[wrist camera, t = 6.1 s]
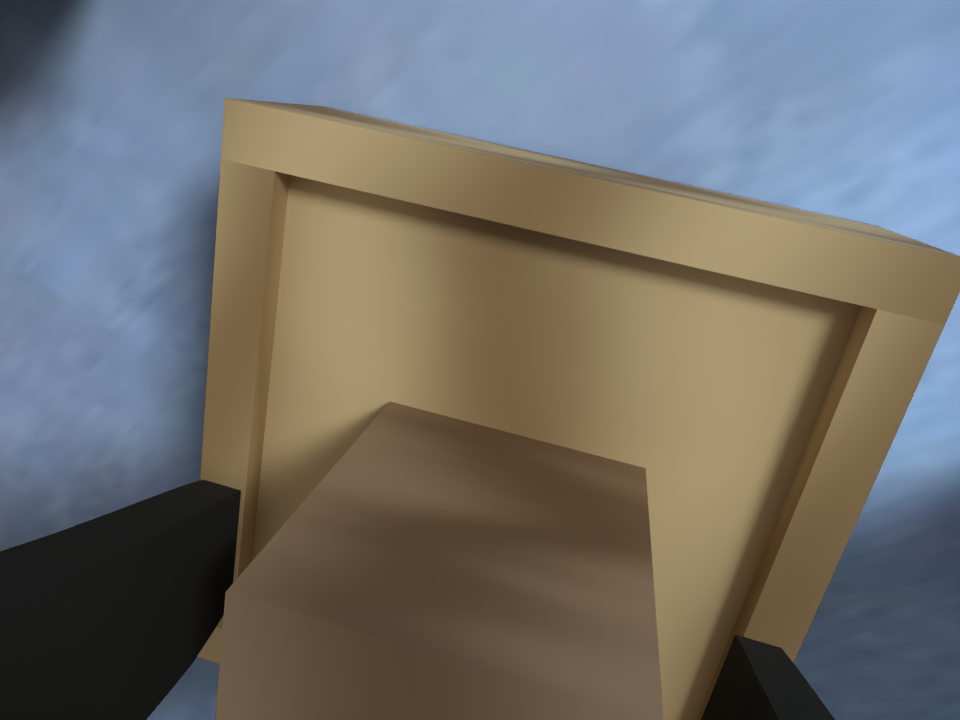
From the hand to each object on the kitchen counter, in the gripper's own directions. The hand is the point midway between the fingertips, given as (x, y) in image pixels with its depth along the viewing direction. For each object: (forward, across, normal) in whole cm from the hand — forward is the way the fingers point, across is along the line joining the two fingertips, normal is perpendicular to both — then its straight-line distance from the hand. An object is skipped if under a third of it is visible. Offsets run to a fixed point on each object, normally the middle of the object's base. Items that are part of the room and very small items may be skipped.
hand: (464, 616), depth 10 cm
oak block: (+8, 0, 0) cm, 8 cm away
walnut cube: (+4, 0, +1) cm, 4 cm away
